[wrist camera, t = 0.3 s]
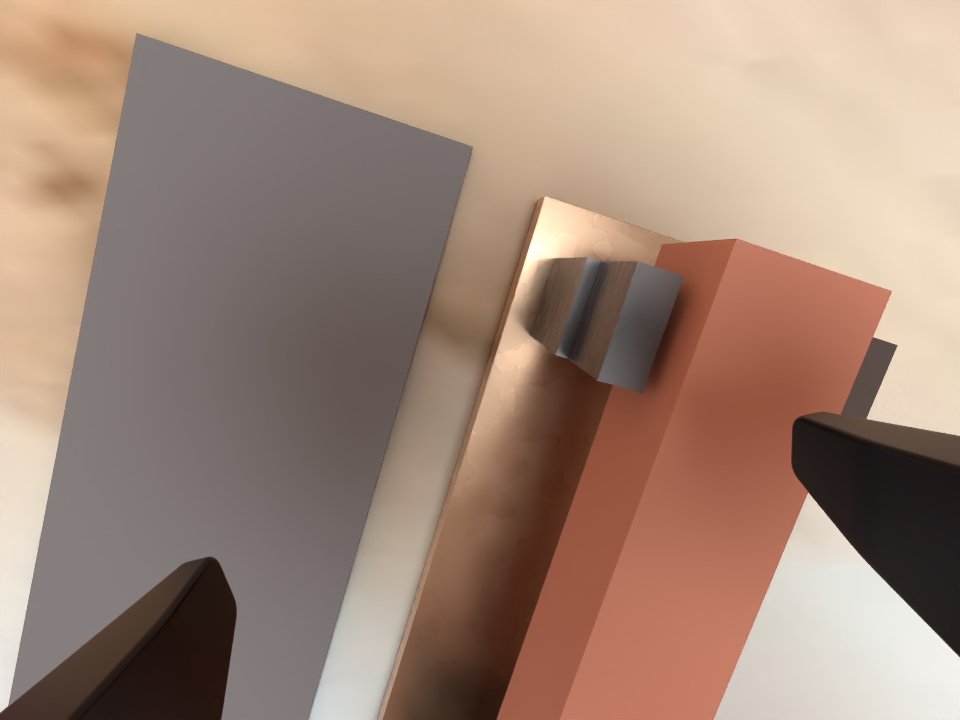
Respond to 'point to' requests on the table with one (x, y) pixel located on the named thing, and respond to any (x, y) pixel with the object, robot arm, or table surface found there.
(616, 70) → the table surface
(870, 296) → the rail
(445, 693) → the rail rack
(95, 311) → the slate mat
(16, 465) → the table surface
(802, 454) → the robot arm
